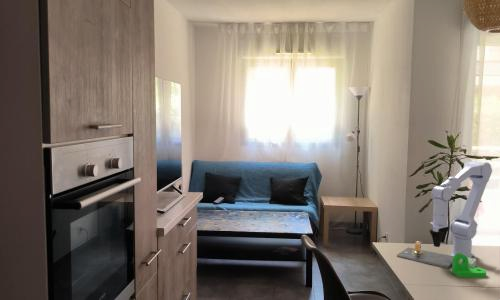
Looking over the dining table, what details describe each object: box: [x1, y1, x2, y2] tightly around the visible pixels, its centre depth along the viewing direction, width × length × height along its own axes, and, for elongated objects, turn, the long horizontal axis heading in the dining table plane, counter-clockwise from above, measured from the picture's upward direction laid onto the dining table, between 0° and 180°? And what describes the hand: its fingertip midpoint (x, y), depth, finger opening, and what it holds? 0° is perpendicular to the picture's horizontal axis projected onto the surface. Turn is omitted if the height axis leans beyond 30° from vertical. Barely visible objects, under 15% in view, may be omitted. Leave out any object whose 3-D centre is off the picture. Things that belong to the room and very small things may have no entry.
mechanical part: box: [451, 253, 487, 279], centre depth 176 cm, size 12×6×8 cm, turn 94°
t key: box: [414, 240, 422, 252], centre depth 198 cm, size 2×7×5 cm, turn 154°
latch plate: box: [396, 247, 454, 269], centre depth 195 cm, size 15×22×1 cm
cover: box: [459, 257, 477, 268], centre depth 185 cm, size 9×7×4 cm
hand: (439, 244), depth 192 cm, fingers open, 7 cm apart
